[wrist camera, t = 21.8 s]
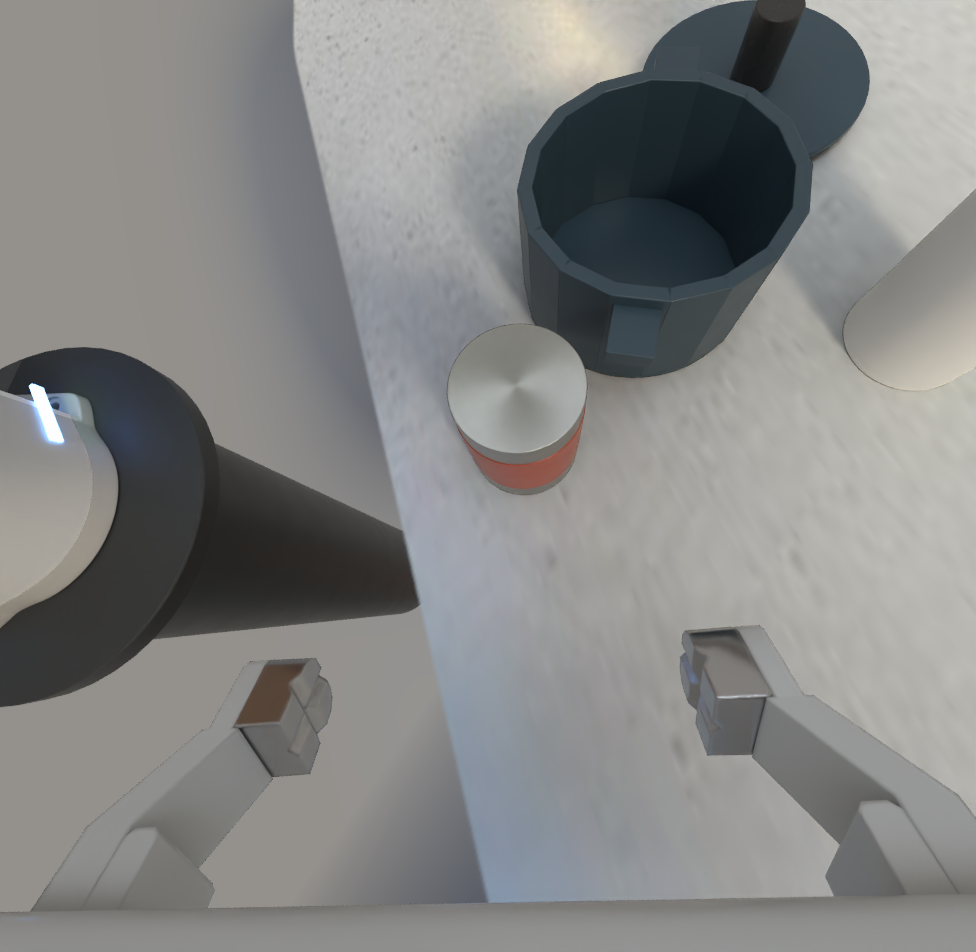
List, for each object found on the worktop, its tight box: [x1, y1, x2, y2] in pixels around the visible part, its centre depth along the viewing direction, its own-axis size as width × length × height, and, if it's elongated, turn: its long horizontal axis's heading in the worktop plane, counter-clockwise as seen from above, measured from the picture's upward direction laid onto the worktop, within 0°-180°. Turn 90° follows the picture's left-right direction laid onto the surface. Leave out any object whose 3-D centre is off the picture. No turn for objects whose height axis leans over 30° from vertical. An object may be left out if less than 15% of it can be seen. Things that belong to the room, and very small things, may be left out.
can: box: [447, 324, 588, 495], centre depth 27 cm, size 7×7×9 cm
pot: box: [517, 47, 813, 378], centre depth 29 cm, size 15×20×8 cm
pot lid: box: [643, 0, 870, 158], centre depth 33 cm, size 16×16×6 cm
